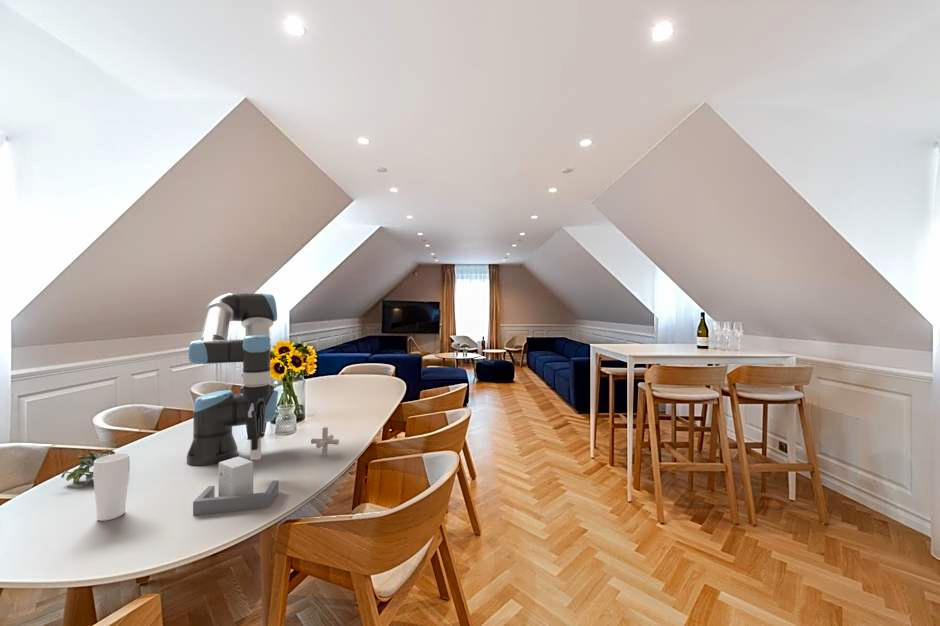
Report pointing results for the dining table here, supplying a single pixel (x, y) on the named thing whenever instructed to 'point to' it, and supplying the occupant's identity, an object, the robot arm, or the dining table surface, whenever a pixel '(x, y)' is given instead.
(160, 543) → the dining table surface
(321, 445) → the pipe connector
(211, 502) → the square bracket
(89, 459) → the green leafy plant
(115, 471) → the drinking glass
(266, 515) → the dining table surface
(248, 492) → the small box
